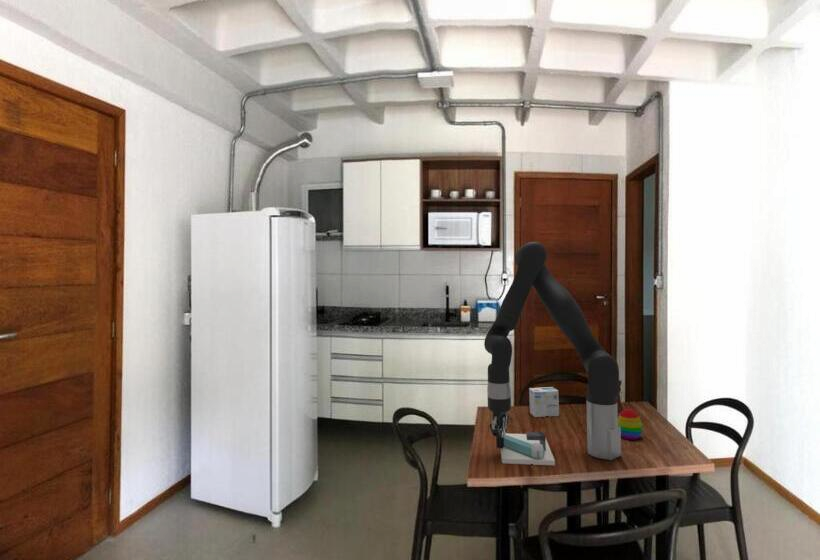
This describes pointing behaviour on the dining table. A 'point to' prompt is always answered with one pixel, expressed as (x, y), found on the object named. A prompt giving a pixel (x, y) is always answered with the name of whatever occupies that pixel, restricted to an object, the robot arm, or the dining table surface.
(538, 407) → the light bulb box
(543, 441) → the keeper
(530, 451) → the teal long piece
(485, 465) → the dining table surface
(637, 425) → the decorative egg
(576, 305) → the robot arm
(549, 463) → the board
